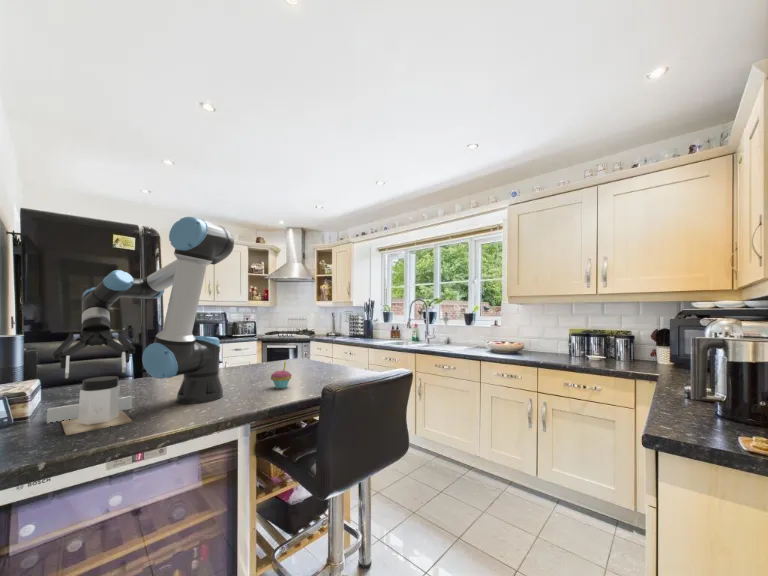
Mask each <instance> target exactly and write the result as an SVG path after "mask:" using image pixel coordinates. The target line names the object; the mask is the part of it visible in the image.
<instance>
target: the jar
mask: <svg viewBox="0 0 768 576" xmlns="http://www.w3.org/2000/svg"><path fill="white" fill-rule="evenodd" d="M120 390H121V386H120V385H119V376H116V375H112V376H110V375H108V376H96V377H90V378H85V379H83V380H82V385H81V389H80V390H79V396H78V397H79V399H78V400H79V401H78V404H79V413H78V423H79V424H84V425H93V424H99V423H105V422H109V421H111V420H113V419H115V418H117V417H118V411H119V398H120V394H121V393H120Z"/></svg>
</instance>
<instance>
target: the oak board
mask: <svg viewBox="0 0 768 576" xmlns="http://www.w3.org/2000/svg"><path fill="white" fill-rule="evenodd" d="M132 422H133V420H132V419H131V417H129V416H128V415H127V414H126V412H124V410H121V411H118V417H117V418H115V419H113V420H111V421H109V422H105V423H99V424H93V425H84V424H79V423H78V418H75V419H70V420H64V421H61V426H62V429H63V431H64V434H65V436H70V435H75V434H79V433H80V434H81V433H85V432H91V431H95V430H101V429H105V428H110V426H111V427H115V426H121V425H125V424H131V423H132Z"/></svg>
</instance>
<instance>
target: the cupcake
mask: <svg viewBox="0 0 768 576" xmlns="http://www.w3.org/2000/svg"><path fill="white" fill-rule="evenodd" d="M286 365H287V360H285V361H284V363H283V370H276V371H274V372H273V373H272V374H271V375H270V380H271V381H272V382H273V384H274V388H275V389H278V388H282V389H286V388H288V384H289V383H290V380H291V379H292V376H293V375H292V374H291V373H290V372H289V371H287V370H286ZM285 387H286V388H285Z"/></svg>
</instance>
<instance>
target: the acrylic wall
mask: <svg viewBox="0 0 768 576" xmlns="http://www.w3.org/2000/svg"><path fill="white" fill-rule="evenodd" d="M132 409H133V395H129V396H123V397H121V396H120V397H119V411H125V410H126V411H127V410H132ZM78 413H79V403H77V404H68V405H63V406H62V405H61V406H56V407H48V408H47V412H46V422H47V423H46V424H51V423H50V422H53V423H57V422H56V421H58V422H62V420H64V421H66V420H69V419H70V420H72V419H77V418H78Z"/></svg>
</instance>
